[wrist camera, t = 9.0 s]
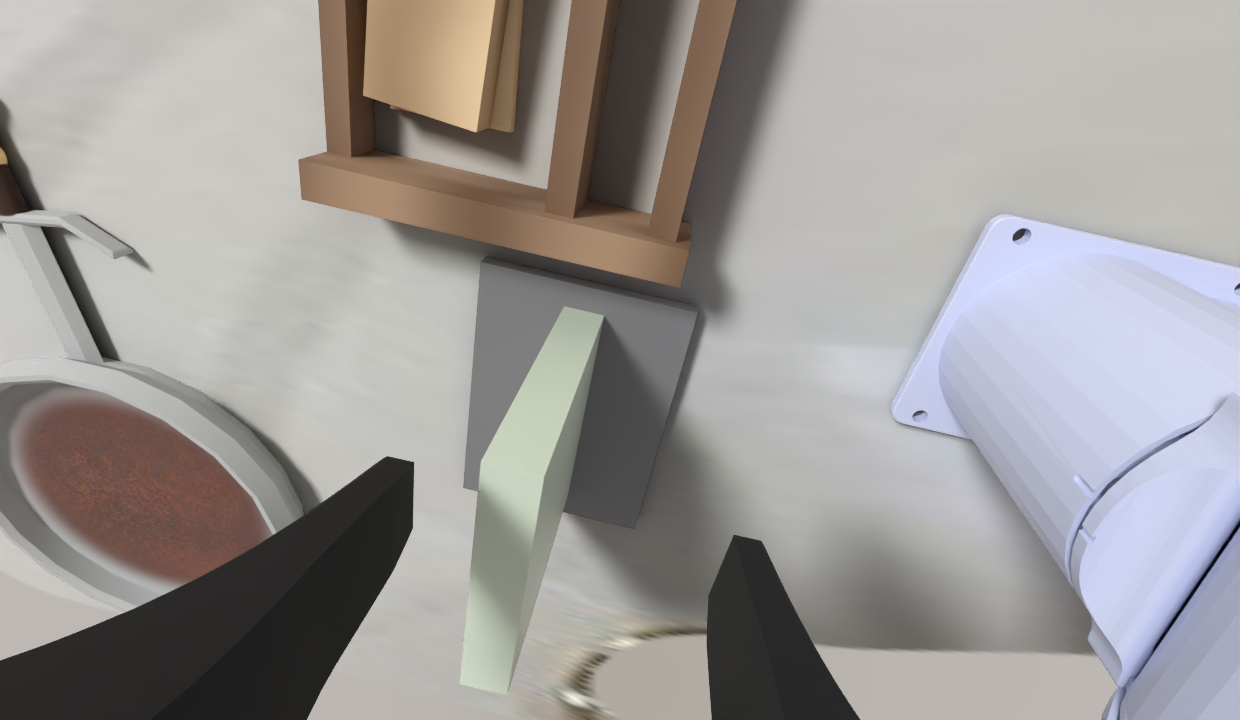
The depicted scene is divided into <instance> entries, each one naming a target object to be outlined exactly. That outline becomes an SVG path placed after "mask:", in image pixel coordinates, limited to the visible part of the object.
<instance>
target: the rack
mask: <svg viewBox="0 0 1240 720" xmlns="http://www.w3.org/2000/svg"><path fill="white" fill-rule="evenodd" d="M620 2H621V0H572V4H571V11H570V19H569V27H568V34H567V42H566V50H565V57H564V65H563V73H562V80H561V88H560V96H559V103H558V111H557V119H556V126H555V134H554V142H553V149H552V157H551V165H550V173H549V180H548V188H547V190H545V189H541V188H536V187H532V186H528V185H523V184H519V183H515V182H510V181H506V180H502V179H497V178H493V177H489V176H485V175H480V174H476V173H472V172H467V171H463V170H459V169H454V168H450V167H446V166H442V165H437V164H433V163H429V162H424V161H420V160H416V159H411V158H407V157H403V156H399V155H394V154H390V153H386V152H381V151H377V150H375V144H374V99H372V98H369V97H366V96H363V88H364V66H365V44H366V22H367V0H318V4H319V21H320V38H321V55H322V72H323V89H324V105H325V122H326V139H327V152H324V153H321V154H317V155H314V156H310V157H307V158H303V159H299V172H300V184H301V196H302V200H307V201H311V202H315V203H319V204H324V205H328V206H332V207H336V208H341V209H345V210H349V211H354V212H358V213H362V214H366V215H371V216H375V217H379V218H383V219H388V220H392V221H396V222H400V223H405V224H409V225H413V226H418V227H422V228H426V229H430V230H435V231H439V232H443V233H447V234H452V235H456V236H460V237H464V238H469V239H473V240H477V241H482V242H486V243H490V244H494V245H499V246H503V247H507V248H511V249H516V250H520V251H524V252H528V253H533V254H537V255H541V256H545V257H550V258H554V259H558V260H563V261H567V262H571V263H575V264H580V265H584V266H588V267H592V268H597V269H601V270H605V271H609V272H614V273H618V274H622V275H627V276H631V277H635V278H639V279H644V280H648V281H652V282H656V283H661V284H665V285H669V286H673V287H678V288H680V285H681V282H682V278H683V274H684V270H685V267H686V263H687V259H688V255H689V252H690V239H691V225H692V224H691V223H687V222H682V221H681V219H682V215H683V211H684V207H685V203H686V199H687V195H688V192H689V188H690V184H691V180H692V176H693V172H694V168H695V164H696V160H697V156H698V152H699V148H700V144H701V140H702V136H703V132H704V128H705V124H706V121H707V117H708V113H709V109H710V105H711V101H712V97H713V93H714V89H715V85H716V81H717V77H718V73H719V69H720V65H721V61H722V57H723V53H724V50H725V46H726V42H727V38H728V34H729V30H730V26H731V22H732V18H733V14H734V10H735V6H736V2H737V0H700V2H699V6H698V11H697V15H696V20H695V24H694V28H693V33H692V37H691V42H690V46H689V51H688V55H687V59H686V64H685V68H684V73H683V77H682V82H681V86H680V90H679V95H678V99H677V104H676V108H675V113H674V117H673V121H672V126H671V130H670V135H669V139H668V144H667V148H666V152H665V157H664V161H663V166H662V170H661V175H660V179H659V183H658V188H657V192H656V197H655V201H654V206H653V210H652V214H648V213H644V212H639V211H635V210H631V209H627V208H622V207H618V206H614V205H609V204H605V203H601V202H596V201H592V200H588V194H589V188H590V182H591V176H592V170H593V164H594V158H595V152H596V146H597V140H598V134H599V128H600V122H601V116H602V110H603V104H604V98H605V92H606V86H607V80H608V74H609V68H610V62H611V56H612V50H613V44H614V38H615V32H616V26H617V20H618V14H619V8H620Z"/></svg>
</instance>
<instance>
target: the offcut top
mask: <svg viewBox="0 0 1240 720" xmlns="http://www.w3.org/2000/svg"><path fill="white" fill-rule="evenodd" d="M509 1H510V0H367V22H366V44H365V66H364V88H363V96H366V97H369V98H372V99H375V100H378V101H381V102H384V103H388V104H391V105H394V106H397V107H400V108H403V109H406V110H409V111H412V112H415V113H418V114H421V115H424V116H427V117H430V118H433V119H436V120H440V121H443V122H446V123H449V124H452V125H455V126H458V127H461V128H464V129H467V130H470V131H473V132H476V133H477V132H479V131H482V130H485V129H488V128H490V124H491V118H492V111H493V105H494V98H495V92H496V85H497V79H498V72H499V66H500V59H501V53H502V46H503V40H504V33H505V27H506V20H507V14H508V7H509Z"/></svg>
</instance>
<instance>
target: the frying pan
mask: <svg viewBox="0 0 1240 720" xmlns="http://www.w3.org/2000/svg"><path fill="white" fill-rule="evenodd" d="M0 223H1V224H2V226H3V228H4V230H5V232H6V234H7V236H8V238H9V240H10V242H11V244H12V246H13V248H14V250H15V252H16V254H17V256H18V258H19V260H20V262H21V264H22V266H23V268H24V270H25V272H26V274H27V276H28V278H29V280H30V282H31V284H32V286H33V288H34V290H35V292H36V294H37V296H38V298H39V300H40V302H41V304H42V306H43V308H44V310H45V312H46V314H47V316H48V318H49V320H50V322H51V324H52V326H53V328H54V330H55V332H56V334H57V336H58V338H59V340H60V342H61V344H62V346H63V348H64V350H65V352H66V354H67V356H68V358H61V357H59V358H44V359H29V360H14V361H9V362H7V363H5V364H3V365H2V366H0V530H1V531H2V533H3V534H4V535H5V536H6V537H7V538H8V539H9V540H10V541H11V542H12V543H14V544H15V545H16V546H17V547H18V548H20V549H21V550H22V551H23V552H24V553H26V554H27V555H28V556H29V557H30V558H32V559H33V560H34V561H35V562H37V563H38V564H39V565H40V566H41V567H43V568H44V569H45V570H46V571H47V572H49V573H51V574H52V575H54V576H56V577H57V578H59V579H61V580H62V581H64V582H66V583H67V584H69V585H71V586H72V587H74V588H76V589H77V590H79V591H81V592H82V593H84V594H86V595H87V596H89V597H91V598H93V599H95V600H97V601H100V602H102V603H105V604H107V605H109V606H112V607H114V608H116V609H119V610H121V611H124V612H127V611H129V610H132V609H134V608H136V607H138V606H140V605H143V604H145V603H147V602H149V601H151V600H153V599H155V598H157V597H160V596H162V595H164V594H166V593H168V592H170V591H172V590H174V589H176V588H178V587H180V586H182V585H184V584H187V583H189V582H191V581H193V580H195V579H197V578H199V577H200V576H202V575H204V574H206V573H208V572H210V571H212V570H214V569H215V568H217V567H219V566H221V565H223V564H225V563H227V562H228V561H230V560H232V559H234V558H235V557H237V556H239V555H241V554H242V553H244V552H246V551H247V550H249V549H251V548H253V547H254V546H256V545H258V544H259V543H261V542H262V541H264V540H266V539H267V538H269V537H270V536H272V535H274V534H275V533H277V532H278V531H280V530H282V529H283V528H285V527H286V526H288V525H290V524H291V523H293V522H294V521H296V520H297V519H299V518H300V517H302V516H303V515H304V514H303V506H302V503H301V501H300V499H299V497H298V495H297V493H296V492H295V490H294V488H293V486H292V484H291V482H290V480H289V478H288V476H287V474H286V472H285V470H284V468H283V466H282V465H281V464H280V463H279V462H278V461H277V459H276V458H275V457H274V456H273V455H272V454H271V453H270V451H269V450H268V449H267V448H266V447H265V446H264V445H263V443H262V442H261V441H260V440H259V439H258V438H257V437H256V436H255V434H254V433H253V432H252V431H251V430H250V429H249V428H248V427H247V426H246V425H244V424H243V423H242V422H240V421H239V420H238V419H236V418H235V417H234V416H232V415H231V414H230V413H228V412H227V411H226V410H224V409H223V408H222V407H220V406H219V405H218V404H216V403H215V402H214V401H212V400H211V399H210V398H208V397H207V396H206V395H204V394H203V393H201V392H199V391H197V390H195V389H193V388H191V387H189V386H187V385H185V384H183V383H181V382H179V381H176V380H174V379H172V378H170V377H168V376H166V375H164V374H162V373H160V372H158V371H156V370H154V369H151V368H149V367H145V366H140V365H136V364H132V363H127V362H123V361H119V360H114V359H110V358H106V357H101V354H100V352H99V350H98V348H97V346H96V344H95V342H94V340H93V337H92V335H91V333H90V331H89V329H88V327H87V325H86V322H85V320H84V318H83V316H82V314H81V312H80V310H79V308H78V305H77V303H76V301H75V299H74V297H73V295H72V293H71V291H70V288H69V286H68V284H67V282H66V280H65V278H64V276H63V274H62V271H61V269H60V267H59V265H58V263H57V261H56V259H55V256H54V254H53V252H52V250H51V248H50V246H49V244H48V242H47V239H46V237H45V235H44V233H43V231H42V229H41V227H40V226H47V227H62V228H66V229H67V230H69V231H70V232H72V233H74V234H75V235H77V236H78V237H80V238H81V239H83V240H85V241H86V242H88V243H89V244H91V245H92V246H94V247H96V248H97V249H99V250H100V251H102V252H103V253H105V254H107V255H108V256H110V257H111V258H113V259H117V258H119V257H122V256H125V255H128V254H130V253H133V250H132V249H131V248H129V247H128V246H126V245H124V244H123V243H121V242H120V241H118V240H117V239H115V238H113V237H112V236H110V235H109V234H107V233H106V232H104V231H103V230H101V229H99V228H98V227H96V226H95V225H93V224H92V223H90V222H88V221H87V220H85V219H84V218H82V217H81V216H79V215H78V214H75V213H73V212H59V211H44V210H29V209H28V207H27V205H26V203H25V200H24V198H23V196H22V194H21V192H20V190H19V188H18V186H17V183H16V181H15V179H14V177H13V175H12V173H11V171H10V169H9V167H8V164H7V157H6V154H5V153H4V151H3V150H2V148H1V147H0Z"/></svg>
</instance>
